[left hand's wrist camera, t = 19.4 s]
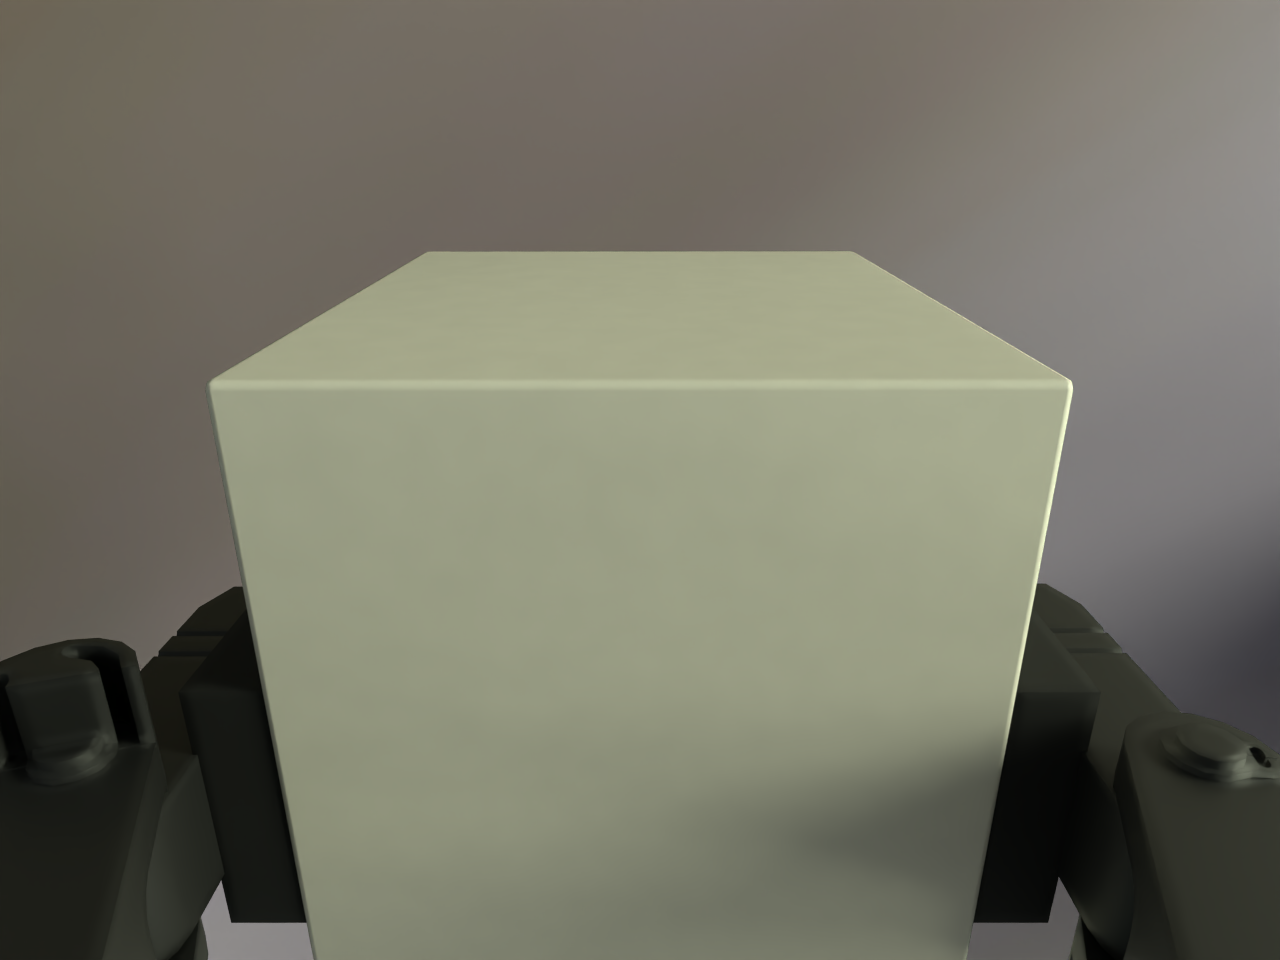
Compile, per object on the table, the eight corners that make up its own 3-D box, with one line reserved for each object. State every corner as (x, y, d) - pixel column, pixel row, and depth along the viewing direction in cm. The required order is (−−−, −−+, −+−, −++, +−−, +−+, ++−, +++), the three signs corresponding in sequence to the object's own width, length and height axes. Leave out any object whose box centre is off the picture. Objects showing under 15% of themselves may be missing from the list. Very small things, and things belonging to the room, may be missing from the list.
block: (855, 250, 13) (1079, 380, 7) (816, 702, 17) (940, 1111, 10) (423, 251, 13) (198, 380, 7) (464, 702, 17) (339, 1112, 10)
